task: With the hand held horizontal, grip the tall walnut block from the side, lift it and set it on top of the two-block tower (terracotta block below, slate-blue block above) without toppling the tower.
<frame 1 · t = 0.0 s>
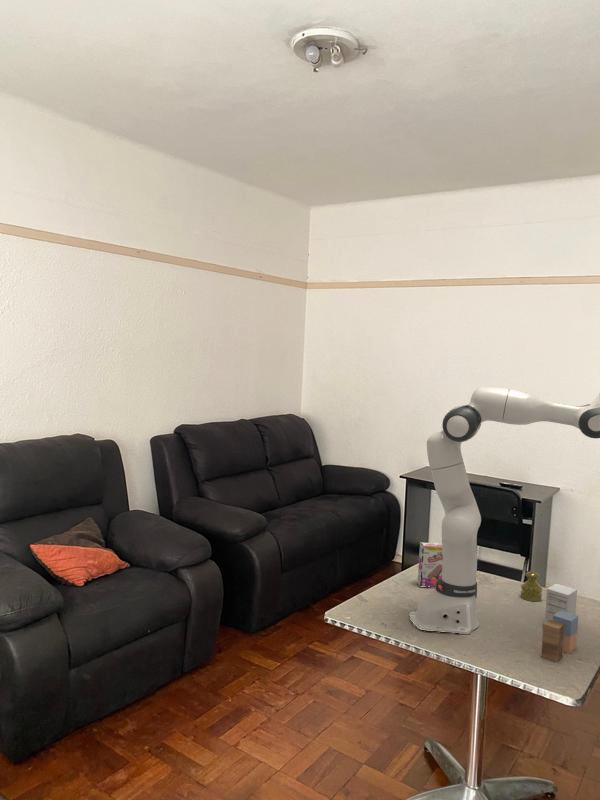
candy bar box: (433, 586, 244), on the table
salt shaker: (531, 598, 235), on the table
slate block: (564, 631, 194), point 5 cm above the table, touching terracotta block
terracotta block: (563, 647, 195), on the table, touching slate block
supplement box: (559, 626, 211), on the table
walnut block: (551, 656, 188), on the table
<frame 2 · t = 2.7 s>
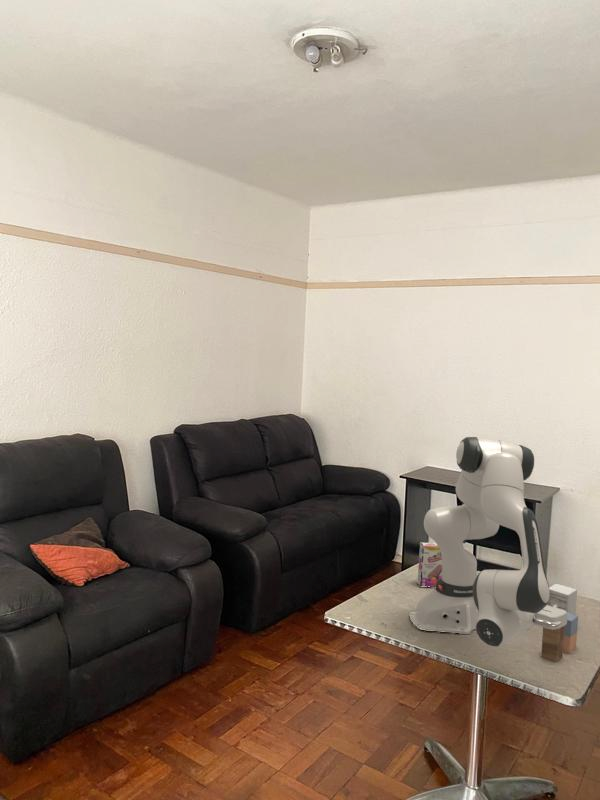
hand: (538, 602, 177), 20 cm above the table, tool horizontal, fingers open, 8 cm apart
nothing on the table moved.
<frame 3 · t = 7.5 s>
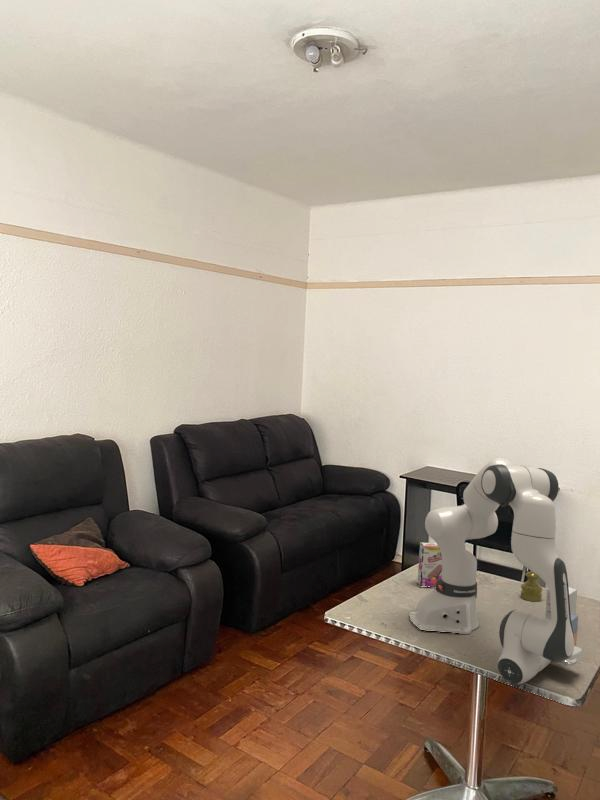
hand: (554, 637, 188), 6 cm above the table, tool horizontal, fingers closed on walnut block, 4 cm apart
walnut block: (551, 656, 188), on the table, touching gripper
everything else where it was.
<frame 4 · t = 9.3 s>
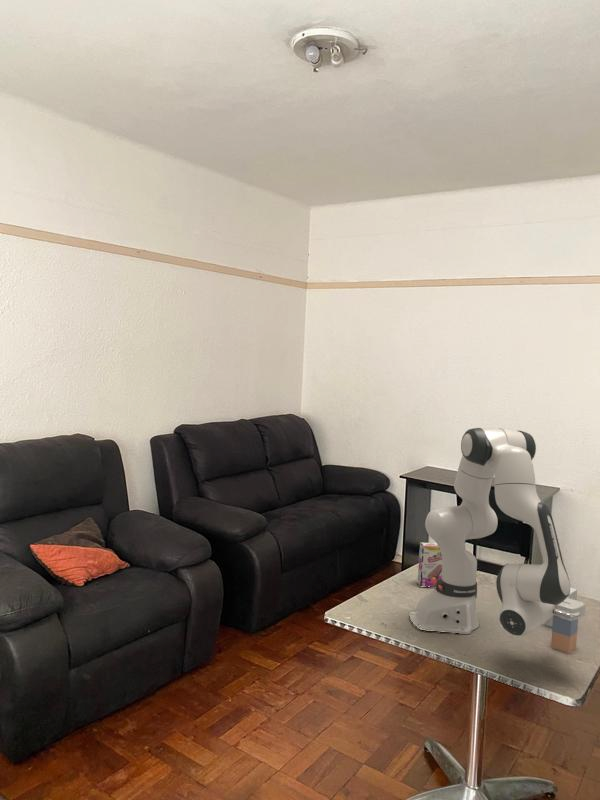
hand: (556, 594, 188), 19 cm above the table, tool horizontal, fingers closed on walnut block, 4 cm apart
walnut block: (554, 613, 187), point 13 cm above the table, touching gripper
everything else where it was.
when the fingers open (16 cm above the table, at t = 11.4 s): walnut block stays where it is, resting on slate block.
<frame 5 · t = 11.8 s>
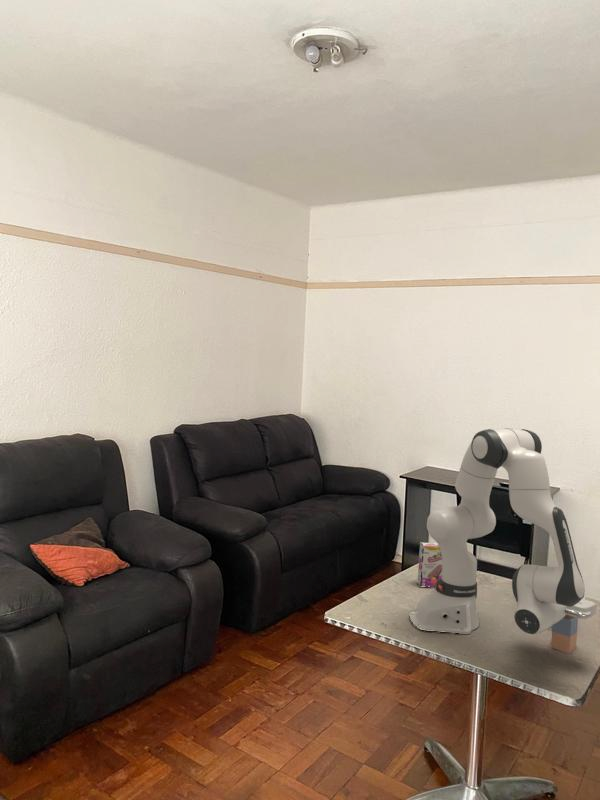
hand: (567, 594, 194), 16 cm above the table, tool horizontal, fingers open, 8 cm apart
slate block: (564, 631, 194), point 5 cm above the table, touching terracotta block, walnut block
walnut block: (565, 615, 194), point 10 cm above the table, touching slate block
everything else where it was.
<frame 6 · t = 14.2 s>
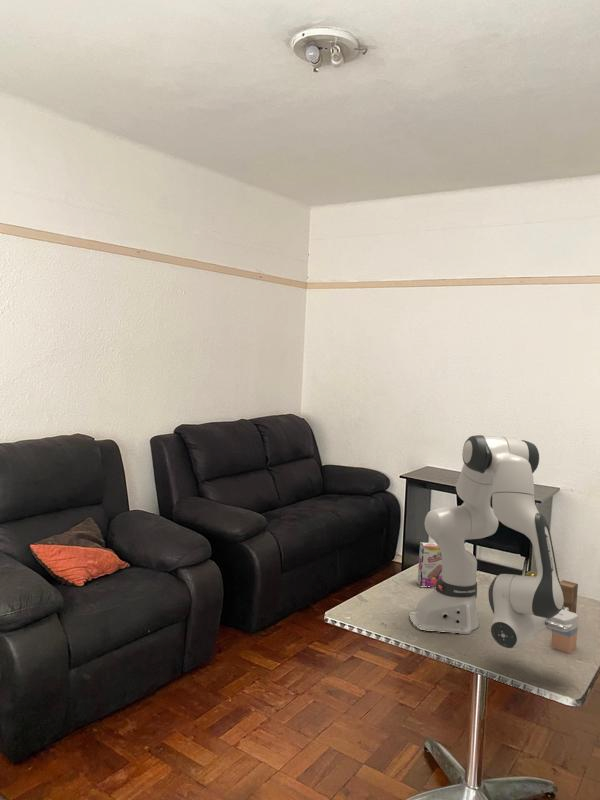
hand: (549, 604, 184), 17 cm above the table, tool horizontal, fingers open, 8 cm apart
nothing on the table moved.
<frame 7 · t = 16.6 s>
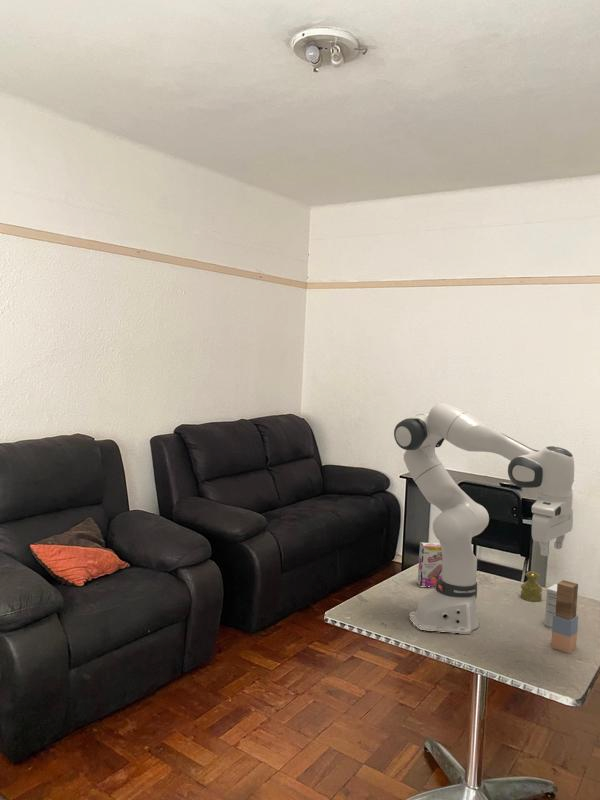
hand: (551, 551, 182), 33 cm above the table, tool pointing down, fingers open, 8 cm apart
nothing on the table moved.
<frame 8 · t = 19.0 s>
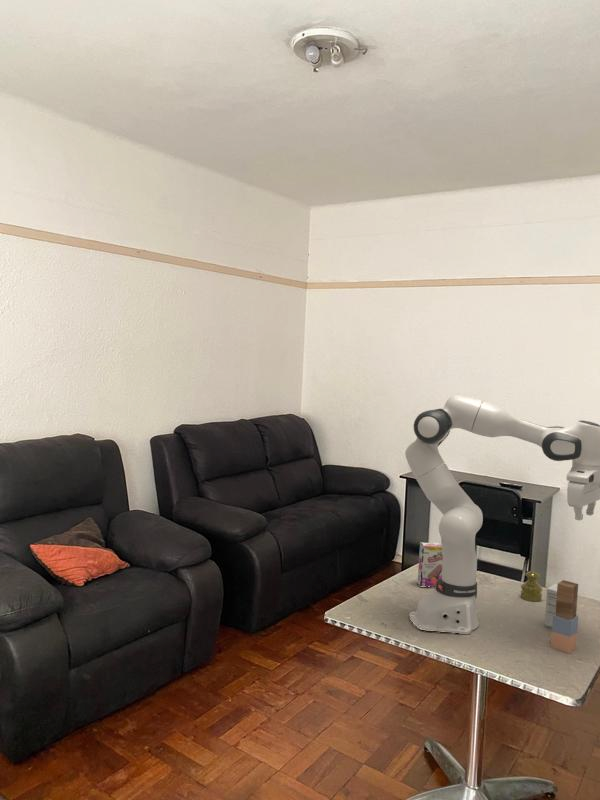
hand: (584, 517, 198), 39 cm above the table, tool pointing down, fingers open, 8 cm apart
nothing on the table moved.
at the end: walnut block 0.0 cm off-centre on the terracotta block, point 10.0 cm above the terracotta block's base; walnut block tilted 0°; slate block tilted 0° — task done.
